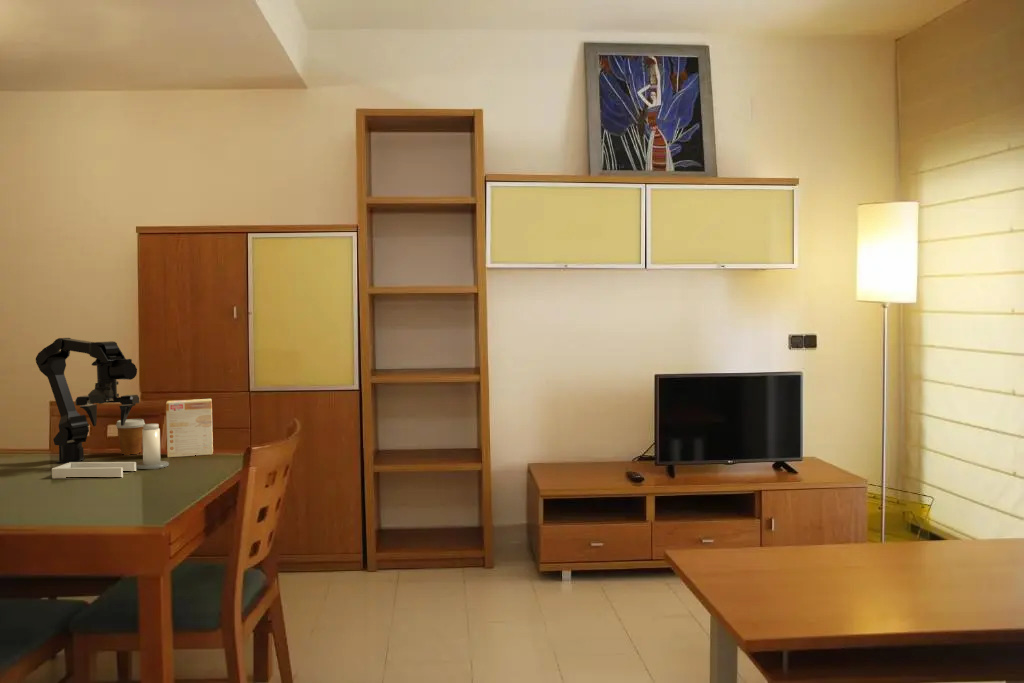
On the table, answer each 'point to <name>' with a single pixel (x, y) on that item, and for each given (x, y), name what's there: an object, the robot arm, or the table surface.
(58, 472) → the channel
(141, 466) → the coaster
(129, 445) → the disposable coffee cup
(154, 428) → the salt mill
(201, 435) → the coffeecake box
